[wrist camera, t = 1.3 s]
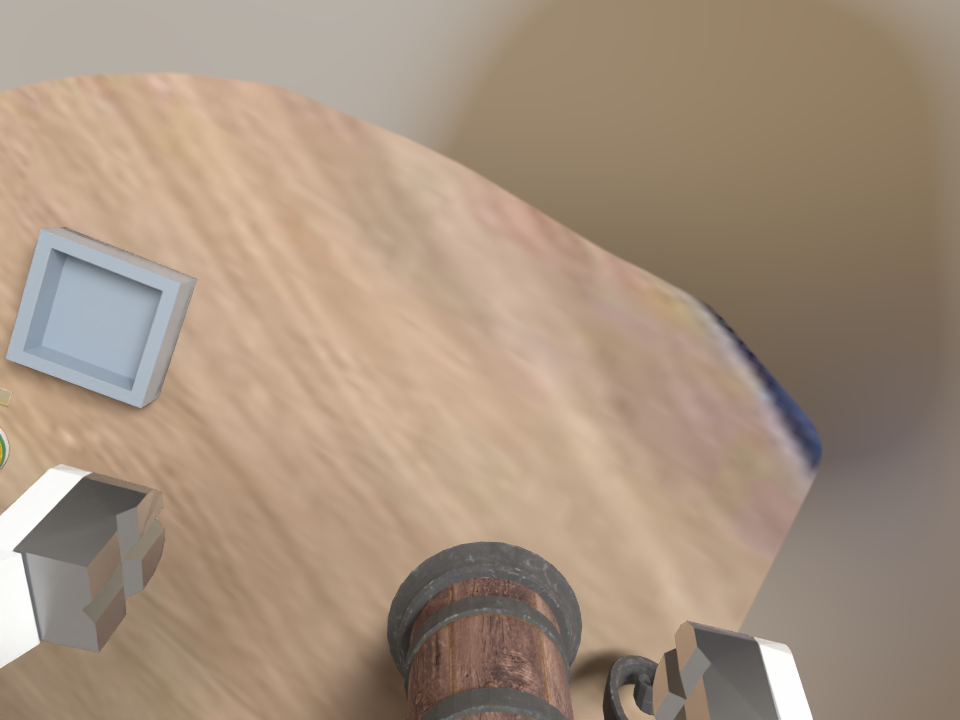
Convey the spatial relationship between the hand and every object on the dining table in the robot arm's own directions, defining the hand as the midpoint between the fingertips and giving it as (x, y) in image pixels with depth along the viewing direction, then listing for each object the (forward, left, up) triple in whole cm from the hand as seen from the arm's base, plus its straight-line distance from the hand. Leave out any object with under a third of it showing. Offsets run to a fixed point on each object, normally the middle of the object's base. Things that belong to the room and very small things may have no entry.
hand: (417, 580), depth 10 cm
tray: (-12, +23, -42) cm, 49 cm away
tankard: (-26, -17, -42) cm, 53 cm away
